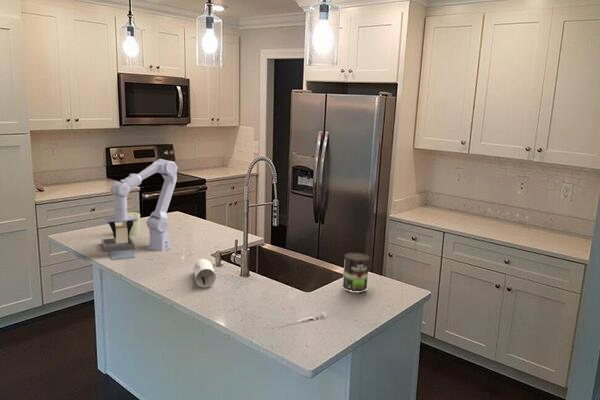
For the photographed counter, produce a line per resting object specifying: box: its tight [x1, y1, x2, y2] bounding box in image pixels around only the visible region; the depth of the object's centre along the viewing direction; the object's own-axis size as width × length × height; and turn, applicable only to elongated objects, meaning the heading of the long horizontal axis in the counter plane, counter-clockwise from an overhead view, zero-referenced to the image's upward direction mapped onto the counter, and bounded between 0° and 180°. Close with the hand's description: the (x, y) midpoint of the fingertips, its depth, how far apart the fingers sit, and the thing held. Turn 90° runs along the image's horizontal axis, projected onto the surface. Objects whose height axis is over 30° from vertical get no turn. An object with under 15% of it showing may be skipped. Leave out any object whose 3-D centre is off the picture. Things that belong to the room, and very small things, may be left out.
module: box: [115, 225, 128, 244], centre depth 220 cm, size 5×5×7 cm
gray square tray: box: [101, 237, 136, 253], centre depth 233 cm, size 13×13×3 cm
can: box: [121, 211, 141, 237], centre depth 253 cm, size 9×9×12 cm
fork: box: [297, 310, 329, 321], centre depth 167 cm, size 3×20×2 cm, turn 121°
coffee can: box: [342, 252, 370, 291], centre depth 197 cm, size 10×10×14 cm
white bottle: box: [193, 258, 217, 288], centre depth 199 cm, size 8×19×8 cm, turn 17°
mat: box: [108, 250, 136, 262], centre depth 221 cm, size 10×10×1 cm
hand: (121, 237), depth 219 cm, fingers closed on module, 5 cm apart
